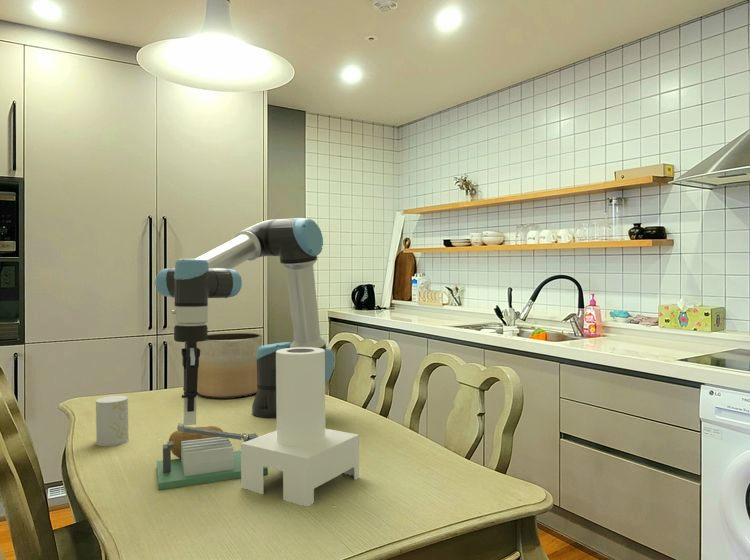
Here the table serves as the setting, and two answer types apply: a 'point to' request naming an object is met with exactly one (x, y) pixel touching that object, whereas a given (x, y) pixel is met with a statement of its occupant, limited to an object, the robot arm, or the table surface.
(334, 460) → the paper towel holder
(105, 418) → the white patterned canister
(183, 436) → the potato
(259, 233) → the robot arm
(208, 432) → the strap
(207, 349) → the planter
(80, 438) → the table surface
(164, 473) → the heatsink board
